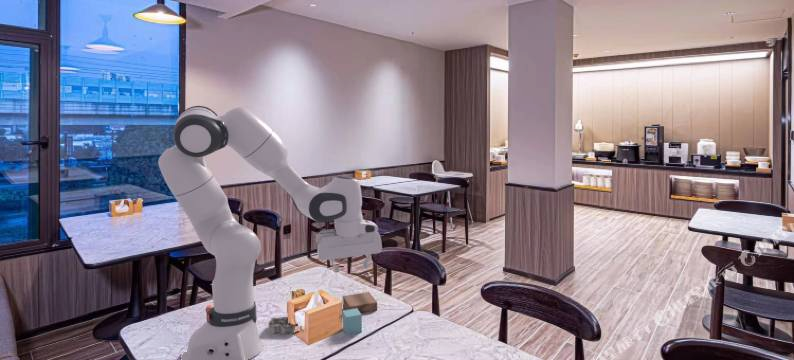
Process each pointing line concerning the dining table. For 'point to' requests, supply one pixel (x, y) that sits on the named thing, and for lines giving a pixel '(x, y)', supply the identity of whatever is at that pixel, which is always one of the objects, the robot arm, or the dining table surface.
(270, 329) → the egg carton
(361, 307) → the walnut plinth
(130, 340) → the dining table surface
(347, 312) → the teal block
